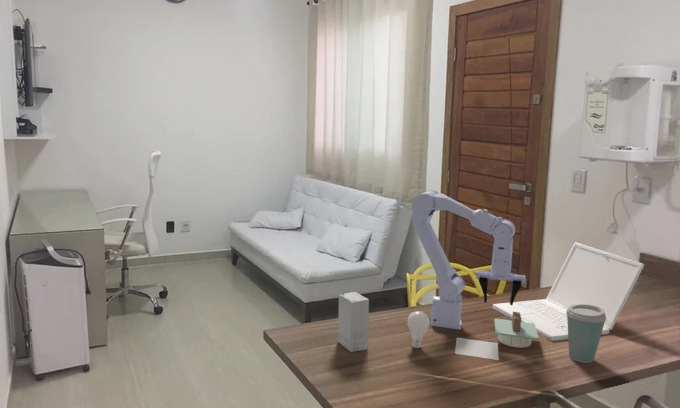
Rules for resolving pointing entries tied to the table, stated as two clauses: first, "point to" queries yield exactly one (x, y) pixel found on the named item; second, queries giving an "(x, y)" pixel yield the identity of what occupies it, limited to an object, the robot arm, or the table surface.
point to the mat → (477, 348)
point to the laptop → (580, 291)
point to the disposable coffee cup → (584, 331)
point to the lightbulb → (417, 327)
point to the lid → (516, 328)
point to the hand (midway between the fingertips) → (498, 302)
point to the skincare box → (353, 321)
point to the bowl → (514, 341)
